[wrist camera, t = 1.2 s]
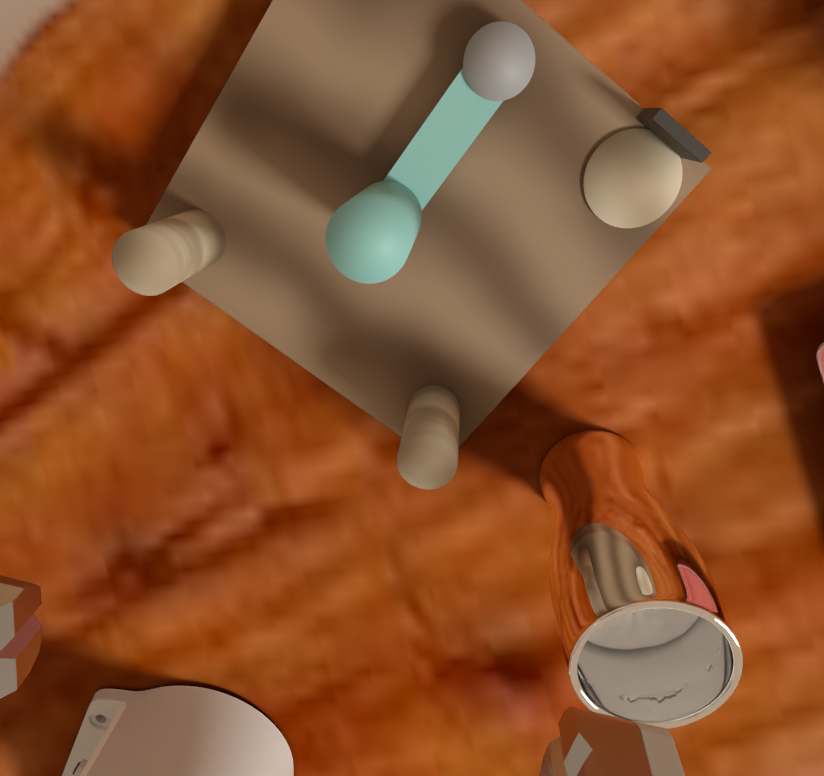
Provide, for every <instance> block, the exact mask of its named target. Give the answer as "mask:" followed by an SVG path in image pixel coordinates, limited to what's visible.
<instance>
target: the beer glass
mask: <svg viewBox="0 0 824 776" xmlns="http://www.w3.org/2000/svg"><path fill="white" fill-rule="evenodd" d="M540 486H541V490H542V493H543V495H544V498H545V500H546V502H547V503H548V505H549V507H550V509H551V510H552V512H553V517H554V523H553V534H552V543H551V554H550V589H551V598H552V606H553V611H554V616H555V621H556V625H557V630H558V634H559V637H560V641H561V645H562V649H563V652H564V655H565V659H566V662H567V665H568V669H569V676H570V681H571V684H572V686H573V689H574V691H575V693H576V694H577V696H578V697H579V699H580V700H581V701H582V702H583V704H584V705H585V706H586V707H588V708H589V709H590V710H591V711H592V712H596V713H601V714H605V715H610V716H615V717H619V718H624V719H628V720H631V721H636V722H640V723H645V724H649V725H653V726H658V727H662V728H667V729H670V728H675V727H680V726H683V725H687V724H690V723H692V722H695V721H697V720H700V719H702V718H704V717H705V716H707V715H709V714H711V713H712V712H714V711H715V710H716V709H718V708H719V707H720V706H721V705H722V704H723V703H724V702H725V701H726V700H727V699H728V698H729V697H730V696H731V694H732V693H733V691H734V690H735V688H736V686H737V685H738V682H739V680H740V677H741V673H742V668H743V656H742V651H741V647H740V644H739V642H738V640H737V638H736V636H735V634H734V632H733V629H732V627H731V624H730V621H729V619H728V616H727V613H726V610H725V608H724V605H723V603H722V600H721V598H720V595H719V593H718V590H717V588H716V586H715V584H714V582H713V579H712V577H711V575H710V573H709V571H708V569H707V567H706V565H705V563H704V562H703V560H702V558H701V556H700V555H699V553H698V551H697V549H696V548H695V546H694V545H693V543H692V542H691V541H690V539H689V538H688V537H687V535H686V534H685V533H684V531H683V530H682V529H681V528H680V526H679V525H678V524H677V523H676V522H675V520H674V519H673V518H672V517H671V516H670V515H669V514H668V513H667V511H666V510H665V509H664V508H663V507H662V506H661V505H660V504H659V503H658V502H657V501H656V499H655V498H654V497H653V496H652V495H651V493H650V492H649V490H648V488H647V483H646V474H645V468H644V464H643V461H642V459H641V456H640V454H639V453H638V451H637V450H636V449H635V447H634V446H633V445H632V444H630V443H629V442H628V441H627V440H625V439H624V438H622V437H621V436H619V435H616V434H614V433H611V432H607V431H600V430H588V431H582V432H578V433H575V434H572V435H569V436H567V437H565V438H564V439H562V440H561V441H559V442H558V443H557V444H555V445H554V446H553V447H552V448H551V449H550V451H549V452H548V453H547V455H546V456H545V458H544V460H543V463H542V466H541V470H540Z"/></svg>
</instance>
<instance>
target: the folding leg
mask: <svg viewBox="0 0 824 776" xmlns="http://www.w3.org/2000/svg"><path fill="white" fill-rule="evenodd" d="M534 68H535V50H534V46H533V44H532V41H531V39H530V37H529V36H528V35H527V33H526V32H525V31H524V30H523V29H522V28H520V27H519V26H517V25H515V24H513V23H510V22H503V21H499V22H493V23H490V24H487V25H485V26H484V27H482V28H481V29H479V30H478V31H477V32H476V33H475V34H474V35H473V36H472V38H471V39H470V41H469V42H468V45H467V47H466V50H465V53H464V59H463V68H462V69H461V71H460V72H459V74H458V75H457V77H456V78H455V79H454V81H453V82H452V84H451V85H450V86H449V88H448V89H447V91H446V92H445V94H444V95H443V96H442V98H441V99H440V101H439V102H438V104H437V105H436V106H435V108H434V109H433V111H432V112H431V114H430V115H429V116H428V118H427V119H426V121H425V122H424V124H423V125H422V126H421V128H420V129H419V131H418V132H417V134H416V135H415V136H414V138H413V139H412V141H411V142H410V143H409V145H408V146H407V148H406V149H405V151H404V152H403V153H402V155H401V156H400V158H399V159H398V161H397V162H396V163H395V165H394V166H393V168H392V169H391V171H390V172H389V173H388V175H387V176H386V178H385V179H384V181H379V182H376V183H373V184H371V185H370V186H368V187H367V188H365V189H364V190H363V191H361V192H360V193H358V194H357V195H356V196H354V197H353V198H351V199H350V200H349V201H347V202H346V203H344V204H343V205H342V206H340V207H339V208H338V209H337V210H336V211H335V212H334V214H333V215H332V217H331V218H330V220H329V222H328V225H327V229H326V234H325V243H326V249H327V253H328V255H329V258H330V260H331V262H332V263H333V265H334V266H335V267H336V268H337V270H338V271H339V272H341V273H342V274H343V275H344V276H346V277H347V278H349V279H351V280H353V281H356V282H360V283H366V284H373V283H379V282H383V281H385V280H387V279H389V278H391V277H393V276H394V275H395V274H396V273H397V272H399V270H400V269H401V268H402V267H403V265H404V264H405V262H406V260H407V257H408V255H409V253H410V251H411V248H412V246H413V244H414V242H415V239H416V237H417V235H418V233H419V230H420V228H421V224H422V210H423V209H424V207H425V206H426V205H427V203H428V202H429V201H430V199H431V198H432V196H433V195H434V194H435V192H436V191H437V190H438V188H439V187H440V186H441V184H442V183H443V182H444V180H445V179H446V178H447V176H448V175H449V174H450V172H451V171H452V170H453V168H454V167H455V165H456V164H457V163H458V161H459V160H460V159H461V157H462V156H463V155H464V153H465V152H466V151H467V149H468V148H469V147H470V145H471V144H472V143H473V141H474V140H475V138H476V137H477V136H478V134H479V133H480V132H481V130H482V129H483V128H484V126H485V125H486V124H487V122H488V121H489V120H490V118H491V117H492V116H493V114H494V113H495V111H496V110H497V109H498V107H499V106H500V105H501V103H502V102H503V101H505V100H508V99H510V98H513V97H514V96H516V95H518V94H519V93H520V92H521V91H522V90H523V89H524V88H525V87H526V86H527V84H528V83H529V81H530V79H531V77H532V75H533V72H534Z"/></svg>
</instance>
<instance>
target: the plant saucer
mask: <svg viewBox="0 0 824 776" xmlns="http://www.w3.org/2000/svg"><path fill="white" fill-rule="evenodd" d="M816 357H817V362H818V366H819V370H820V373H821V376H822V380H823V384H824V342H823V343H822V344H820V345H819V347H818V350H817V354H816Z"/></svg>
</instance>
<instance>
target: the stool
mask: <svg viewBox="0 0 824 776" xmlns="http://www.w3.org/2000/svg"><path fill="white" fill-rule="evenodd" d="M499 21H503V22H510V23H513V24H515V25H517V26H519V27H520V28H522V29H523V30H524V31H525V32H526V33H527V35H528V36H529V37H530V39H531V41H532V44H533V46H534V50H535V68H534V72H533V75H532V77H531V79H530V81H529V83H528V84H527V86H526V87H525V88H524V89H523V90H522V91H521V92H520V93H519V94H518V95H516V96H514V97H513V98H510V99H508V100H505V101H503V102H502V103H501V105H500V106H499V107H498V109H497V110H496V111H495V113H494V114H493V116H492V117H491V118H490V120H489V121H488V122H487V124H486V125H485V126H484V128H483V129H482V130H481V132H480V133H479V134H478V136H477V137H476V138H475V140H474V141H473V143H472V144H471V145H470V147H469V148H468V149H467V151H466V152H465V153H464V155H463V156H462V157H461V159H460V160H459V161H458V163H457V164H456V165H455V167H454V168H453V170H452V171H451V172H450V174H449V175H448V176H447V178H446V179H445V180H444V182H443V183H442V184H441V186H440V187H439V188H438V190H437V191H436V192H435V194H434V195H433V196H432V198H431V199H430V201H429V202H428V203H427V205H426V206H425V207H424V209H423V210H422V224H421V228H420V230H419V233H418V235H417V237H416V239H415V242H414V244H413V246H412V248H411V251H410V253H409V255H408V257H407V260H406V262H405V264H404V265H403V267H402V268H401V269H400V270H399V272H397V273H396V274H395V275H394V276H393V277H391V278H389V279H387V280H385V281H383V282H379V283H373V284H366V283H360V282H356V281H353V280H351V279H349V278H347V277H346V276H344V275H343V274H342V273H341V272H339V271H338V270H337V268H336V267H335V266H334V265H333V263H332V262H331V260H330V258H329V255H328V253H327V249H326V243H325V234H326V229H327V225H328V222H329V220H330V218H331V217H332V215H333V214H334V212H335V211H336V210H337V209H338V208H339V207H340V206H342V205H343V204H344V203H346V202H347V201H349V200H350V199H351V198H353V197H354V196H356V195H357V194H358V193H360V192H361V191H363V190H364V189H365V188H367V187H368V186H370V185H371V184H373V183H376V182H379V181H384V179H385V178H386V176H387V175H388V173H389V172H390V171H391V169H392V168H393V166H394V165H395V163H396V162H397V161H398V159H399V158H400V156H401V155H402V153H403V152H404V151H405V149H406V148H407V146H408V145H409V143H410V142H411V141H412V139H413V138H414V136H415V135H416V134H417V132H418V131H419V129H420V128H421V126H422V125H423V124H424V122H425V121H426V119H427V118H428V116H429V115H430V114H431V112H432V111H433V109H434V108H435V106H436V105H437V104H438V102H439V101H440V99H441V98H442V96H443V95H444V94H445V92H446V91H447V89H448V88H449V86H450V85H451V84H452V82H453V81H454V79H455V78H456V77H457V75H458V74H459V72H460V71H461V69H462V68H463V59H464V53H465V50H466V47H467V45H468V42H469V41H470V39H471V38H472V36H473V35H474V34H475V33H476V32H477V31H478V30H479V29H481V28H482V27H484V26H485V25H487V24H490V23H493V22H499ZM711 153H712V152H710V151H709V150H708V149H707V148H706V147H705V146H704V145H703V144H701V143H700V142H699V141H698V140H697V139H696V138H695V137H694V136H692V135H691V134H690V133H689V132H688V131H687V130H686V129H685V128H683V127H682V126H681V125H680V124H679V123H678V122H677V121H676V120H674V119H673V118H672V117H671V116H670V115H669V114H668V113H667V112H665V111H664V110H663V109H662V108H643V107H641V106H640V105H639V104H638V103H637V102H636V101H635V100H634V99H632V98H631V97H630V96H629V95H628V94H627V93H626V92H624V91H623V90H622V89H621V88H620V87H619V86H618V85H617V84H615V83H614V82H613V81H612V80H611V79H610V78H609V77H607V76H606V75H605V74H604V73H603V72H602V71H601V70H600V69H598V68H597V67H596V66H595V65H594V64H593V63H592V62H590V61H589V60H588V59H587V58H586V57H585V56H584V55H583V54H581V53H580V52H579V51H578V50H577V49H576V48H575V47H573V46H572V45H571V44H570V43H569V42H568V41H567V40H566V39H564V38H563V37H562V36H561V35H560V34H559V33H558V32H556V31H555V30H554V29H553V28H552V27H551V26H550V25H549V24H547V23H546V22H545V21H544V20H543V19H542V18H541V17H539V16H538V15H537V14H536V13H535V12H534V11H533V10H532V9H530V8H529V7H528V6H527V5H526V4H525V3H524V2H522V1H521V0H273V1H272V3H271V4H270V6H269V8H268V10H267V11H266V13H265V15H264V17H263V18H262V20H261V22H260V24H259V26H258V27H257V29H256V31H255V33H254V34H253V36H252V38H251V40H250V41H249V43H248V45H247V47H246V49H245V50H244V52H243V54H242V56H241V57H240V59H239V61H238V63H237V64H236V66H235V68H234V70H233V72H232V73H231V75H230V77H229V79H228V80H227V82H226V84H225V86H224V87H223V89H222V91H221V93H220V95H219V96H218V98H217V100H216V102H215V103H214V105H213V107H212V109H211V110H210V112H209V114H208V116H207V118H206V119H205V121H204V123H203V125H202V126H201V128H200V130H199V132H198V133H197V135H196V137H195V139H194V141H193V142H192V144H191V146H190V148H189V149H188V151H187V153H186V155H185V156H184V158H183V160H182V162H181V164H180V165H179V167H178V169H177V171H176V172H175V174H174V176H173V178H172V179H171V181H170V183H169V185H168V187H167V188H166V190H165V192H164V194H163V195H162V197H161V199H160V201H159V202H158V204H157V206H156V208H155V210H154V211H153V213H152V215H151V217H150V218H149V220H148V222H147V224H146V225H145V226H142V227H139V228H136V229H133V230H130V231H128V232H126V233H124V234H122V235H121V236H120V237H119V238H118V239H117V241H116V242H115V244H114V247H113V250H112V263H113V267H114V270H115V272H116V274H117V276H118V277H119V279H120V280H121V281H122V283H123V284H124V285H125V286H127V287H128V288H129V289H131V290H132V291H134V292H136V293H139V294H142V295H148V296H152V295H158V294H161V293H163V292H165V291H167V290H168V289H170V288H172V287H173V286H175V285H177V284H179V283H180V282H183V283H185V284H186V285H187V286H189V287H190V288H192V289H193V290H194V291H196V292H197V293H199V294H200V295H202V296H203V297H204V298H206V299H207V300H209V301H210V302H211V303H213V304H214V305H216V306H217V307H218V308H220V309H221V310H223V311H224V312H225V313H227V314H228V315H230V316H231V317H233V318H234V319H235V320H237V321H238V322H240V323H241V324H242V325H244V326H245V327H247V328H248V329H249V330H251V331H252V332H254V333H255V334H257V335H258V336H259V337H261V338H262V339H264V340H265V341H266V342H268V343H269V344H271V345H272V346H273V347H275V348H276V349H278V350H279V351H280V352H282V353H283V354H285V355H286V356H288V357H289V358H290V359H292V360H293V361H295V362H296V363H297V364H299V365H300V366H302V367H303V368H304V369H306V370H307V371H309V372H310V373H312V374H313V375H314V376H316V377H317V378H319V379H320V380H321V381H323V382H324V383H326V384H327V385H328V386H330V387H331V388H333V389H334V390H336V391H337V392H338V393H340V394H341V395H343V396H344V397H345V398H347V399H348V400H350V401H351V402H352V403H354V404H355V405H357V406H358V407H359V408H361V409H362V410H364V411H365V412H367V413H368V414H369V415H371V416H372V417H374V418H375V419H376V420H378V421H379V422H381V423H382V424H383V425H385V426H386V427H388V428H389V429H391V430H392V431H393V432H395V433H396V434H398V435H399V436H400V437H402V438H401V442H400V447H399V451H398V456H397V467H398V470H399V472H400V474H401V476H402V477H403V478H404V479H405V480H406V481H407V482H408V483H409V484H411V485H413V486H415V487H418V488H421V489H436V488H439V487H442V486H444V485H446V484H447V483H448V482H449V481H451V479H452V478H453V477H454V475H455V473H456V471H457V466H458V448H459V447H460V446H461V445H462V444H463V442H464V441H465V440H466V439H467V438H468V437H469V436H470V435H471V434H472V433H473V431H474V430H475V429H476V428H477V427H478V426H479V425H480V424H481V423H482V422H483V420H484V419H485V418H486V417H487V416H488V415H489V414H490V413H491V412H492V410H493V409H494V408H495V407H496V406H497V405H498V404H499V403H500V402H501V401H502V399H503V398H504V397H505V396H506V395H507V394H508V393H509V392H510V391H511V390H512V388H513V387H514V386H515V385H516V384H517V383H518V382H519V381H520V380H521V378H522V377H523V376H524V375H525V374H526V373H527V372H528V371H529V370H530V369H531V367H532V366H533V365H534V364H535V363H536V362H537V361H538V360H539V359H540V358H541V356H542V355H543V354H544V353H545V352H546V351H547V350H548V349H549V348H550V346H551V345H552V344H553V343H554V342H555V341H556V340H557V339H558V338H559V337H560V335H561V334H562V333H563V332H564V331H565V330H566V329H567V328H568V327H569V325H570V324H571V323H572V322H573V321H574V320H575V319H576V318H577V317H578V316H579V314H580V313H581V312H582V311H583V310H584V309H585V308H586V307H587V306H588V305H589V303H590V302H591V301H592V300H593V299H594V298H595V297H596V296H597V295H598V293H599V292H600V291H601V290H602V289H603V288H604V287H605V286H606V285H607V284H608V282H609V281H610V280H611V279H612V278H613V277H614V276H615V275H616V274H617V273H618V271H619V270H620V269H621V268H622V267H623V266H624V265H625V264H626V263H627V261H628V260H629V259H630V258H631V257H632V256H633V255H634V254H635V253H636V252H637V250H638V249H639V248H640V247H641V246H642V245H643V244H644V243H645V242H646V241H647V239H648V238H649V237H650V236H651V235H652V234H653V233H654V232H655V231H656V229H657V228H658V227H659V226H660V225H661V224H662V223H663V222H664V221H665V220H666V218H667V217H668V216H669V215H670V214H671V213H672V212H673V211H674V210H675V209H676V207H677V206H678V205H679V204H680V203H681V202H682V201H683V200H684V199H685V197H686V196H687V195H688V194H689V193H690V192H691V191H692V190H693V189H694V188H695V186H696V185H697V184H698V183H699V182H700V181H701V180H702V179H703V178H704V177H705V175H706V174H707V173H708V172H709V171H710V170H711V169H712V168H711V167H709V166H708V165H707V164H706V163H705V162H704V160H705V159H706V158H707V157H708V156H709V155H710V154H711Z"/></svg>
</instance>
